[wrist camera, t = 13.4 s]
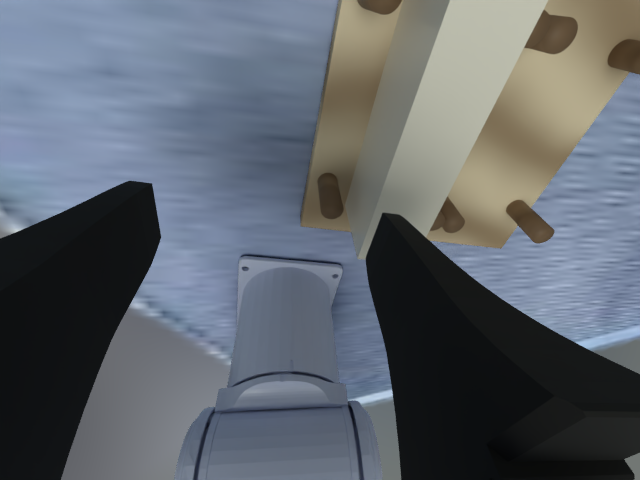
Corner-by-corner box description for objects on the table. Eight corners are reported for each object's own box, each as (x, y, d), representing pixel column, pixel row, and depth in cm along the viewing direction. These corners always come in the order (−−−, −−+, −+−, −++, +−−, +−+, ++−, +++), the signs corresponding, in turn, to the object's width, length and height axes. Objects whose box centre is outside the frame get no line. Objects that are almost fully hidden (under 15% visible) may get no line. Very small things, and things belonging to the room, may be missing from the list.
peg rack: (493, 238, 24) (524, 277, 21) (300, 215, 21) (301, 257, 18) (680, -35, 14) (796, -40, 11) (362, -135, 11) (389, -182, 8)
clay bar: (389, 210, 20) (412, 264, 16) (345, 205, 20) (357, 258, 16) (484, -30, 13) (567, -37, 9) (416, -49, 12) (473, -65, 8)
